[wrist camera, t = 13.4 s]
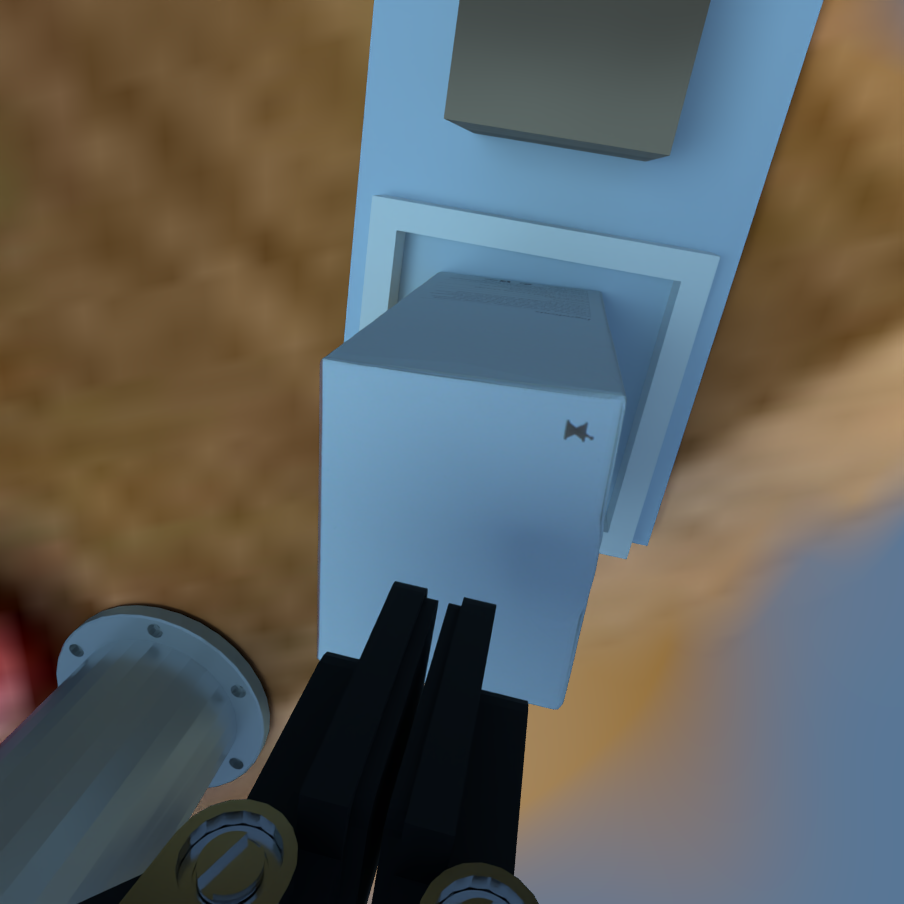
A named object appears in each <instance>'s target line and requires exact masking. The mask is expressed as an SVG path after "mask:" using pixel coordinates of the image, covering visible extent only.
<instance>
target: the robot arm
mask: <svg viewBox="0 0 904 904" xmlns="http://www.w3.org/2000/svg"><path fill="white" fill-rule="evenodd" d="M427 595H428V588H424V587H419V586H415V585H411V584H407V583H402V582H398V581H395V582H394V583H393V585H392V587H391V589H390V592H389V594H388V596H387V598H386V601H385V603H384V605H383V607H382V610H381V612H380V614H379V616H378V619H377V621H376V623H375V625H374V627H373V630H372V632H371V634H370V636H369V639H368V641H367V643H366V645H365V648H364V650H363V652H362V654H361V657H360V659H356V658H352V657H348V656H344V655H340V654H336V653H332V652H328V651H327V652H326V653H325V654H324V655H323V656H322V658H321V660H320V661H319V663H318V665H317V667H316V669H315V671H314V673H313V674H312V676H311V678H310V680H309V682H308V684H307V686H306V688H305V690H304V692H303V693H302V695H301V697H300V699H299V701H298V703H297V705H296V707H295V709H294V711H293V712H292V714H291V716H290V718H289V720H288V722H287V724H286V726H285V728H284V730H283V731H282V733H281V735H280V737H279V739H278V741H277V743H276V745H275V747H274V749H273V750H272V752H271V754H270V756H269V758H268V760H267V762H266V764H265V766H264V768H263V769H262V771H261V773H260V775H259V777H258V779H257V781H256V783H255V785H254V787H253V788H252V790H251V792H250V794H249V796H248V798H247V799H245V800H228V801H225V802H222V803H218V804H215V805H211V806H209V807H208V808H206V809H204V810H202V811H201V812H199V813H197V814H196V815H194V816H192V817H191V815H192V813H193V812H194V810H195V808H196V807H197V805H198V803H199V802H200V800H201V798H202V797H203V795H204V793H205V792H206V790H207V788H210V787H216V786H220V785H223V784H226V783H228V782H231V781H234V780H235V779H237V778H238V777H240V776H241V775H243V774H244V773H246V772H247V770H248V769H249V768H250V767H251V766H252V765H253V764H254V763H255V761H256V759H257V758H258V756H259V754H260V752H261V750H262V749H263V747H264V745H265V742H266V739H267V736H268V733H269V725H270V712H269V707H268V701H267V697H266V695H265V692H264V690H263V687H262V685H261V682H260V681H259V679H258V677H257V676H256V674H255V673H254V671H253V669H252V668H251V666H250V665H249V663H248V662H247V661H246V660H245V659H244V658H243V657H242V656H241V654H240V653H239V652H238V651H237V650H236V649H235V648H234V647H233V646H232V645H231V644H229V643H228V642H227V641H226V640H225V639H224V638H222V637H221V636H220V635H219V634H217V633H216V632H214V631H212V630H211V629H209V628H208V627H206V626H205V625H203V624H201V623H200V622H197V621H195V620H193V619H191V618H189V617H186V616H184V615H182V614H179V613H176V612H172V611H169V610H165V609H162V608H157V607H149V606H141V605H134V606H119V607H115V608H112V609H108V610H104V611H102V612H100V613H98V614H96V615H94V616H92V617H90V618H89V619H88V620H86V621H85V622H84V623H83V624H82V625H81V626H80V627H78V628H77V629H76V630H75V631H74V632H73V633H72V634H71V635H70V636H69V637H68V639H67V640H66V641H65V643H64V644H63V647H62V649H61V652H60V654H59V657H58V663H57V671H56V674H57V682H58V688H57V689H56V690H55V691H54V692H53V693H52V694H51V695H50V696H49V697H48V698H47V699H46V700H44V701H43V702H42V703H41V704H40V705H39V706H38V707H37V708H36V709H35V710H34V711H33V712H32V713H31V714H30V715H29V716H28V717H27V718H26V719H25V720H24V721H23V722H22V723H21V724H20V725H19V726H18V727H17V728H16V729H15V730H14V731H13V732H12V733H11V734H10V735H9V736H8V737H7V738H6V739H5V740H4V741H3V742H2V743H1V744H0V904H367V901H368V898H369V894H370V891H371V887H372V884H373V880H374V877H375V873H376V870H377V874H376V880H375V887H374V893H373V898H372V904H539V903H538V902H537V900H536V898H535V896H534V894H533V893H532V892H531V891H530V890H529V889H528V888H527V887H526V886H525V885H524V884H523V883H522V882H521V880H519V879H518V878H517V877H515V876H514V868H515V856H516V844H517V832H518V821H519V810H520V798H521V787H522V776H523V763H524V752H525V741H526V729H527V718H528V701H527V700H522V699H518V698H514V697H510V696H506V695H502V694H498V693H494V692H490V691H486V690H482V684H483V678H484V673H485V667H486V662H487V656H488V651H489V645H490V640H491V634H492V629H493V623H494V618H495V612H496V606H497V605H496V604H492V603H488V602H484V601H479V600H475V599H471V598H466V597H464V598H463V602H462V605H461V606H460V605H456V604H452V603H449V604H448V607H447V610H446V614H445V617H444V620H443V624H442V627H441V631H440V634H439V637H438V641H437V644H436V647H435V651H434V654H433V658H432V661H431V664H430V668H429V671H428V675H427V678H426V681H425V677H426V671H427V665H428V660H429V654H430V648H431V643H432V637H433V632H434V626H435V620H436V615H437V609H438V602H439V601H438V600H435V599H430V598H427ZM424 682H425V685H424ZM190 817H191V818H190ZM189 818H190V819H189ZM377 866H378V868H377Z"/></svg>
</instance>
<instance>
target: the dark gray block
mask: <svg viewBox="0 0 904 904" xmlns="http://www.w3.org/2000/svg"><path fill="white" fill-rule="evenodd" d="M710 1H711V0H459V7H458V15H457V22H456V30H455V37H454V45H453V52H452V60H451V67H450V75H449V82H448V90H447V97H446V105H445V112H444V119H445V120H448V121H450V122H452V123H454V124H456V125H458V126H460V127H462V128H464V129H466V130H468V131H470V132H472V133H475V134H481V135H487V136H493V137H499V138H505V139H511V140H518V141H524V142H530V143H536V144H542V145H548V146H554V147H560V148H566V149H572V150H578V151H584V152H590V153H597V154H603V155H609V156H615V157H621V158H627V159H633V160H639V161H645V162H646V161H650V160H654V159H658V158H662V157H666V156H670V153H671V149H672V145H673V142H674V138H675V134H676V130H677V126H678V123H679V119H680V115H681V111H682V108H683V104H684V100H685V96H686V92H687V89H688V85H689V81H690V77H691V73H692V70H693V66H694V62H695V58H696V54H697V51H698V47H699V43H700V39H701V36H702V32H703V28H704V24H705V20H706V17H707V13H708V9H709V5H710Z"/></svg>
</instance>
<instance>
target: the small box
mask: <svg viewBox="0 0 904 904" xmlns="http://www.w3.org/2000/svg"><path fill="white" fill-rule="evenodd" d="M626 403H627V398H626V393H625V389H624V385H623V380H622V376H621V372H620V368H619V364H618V359H617V355H616V351H615V347H614V343H613V339H612V335H611V331H610V328H609V324H608V320H607V316H606V312H605V304H604V301H603V295H602V292H600V291H594V290H583V289H576V288H568V287H559V286H551V285H543V284H535V283H527V282H519V281H511V280H503V279H495V278H487V277H480V276H472V275H464V274H455V273H448V272H438V273H437V274H436V275H434V276H433V277H431V278H430V279H429V280H428V281H426V282H425V283H424V284H422V285H421V286H419V287H418V288H416V289H415V290H414V291H412V292H411V293H410V294H408V295H407V296H406V297H404V298H403V299H402V300H400V301H399V302H398V303H397V304H395V305H394V306H392V307H391V308H390V309H388V310H387V311H386V312H385V313H383V314H382V315H381V316H379V317H378V318H377V319H375V320H374V321H373V322H371V323H370V324H369V325H367V326H366V327H364V328H363V329H362V330H360V331H359V332H358V333H356V334H355V335H354V336H353V337H351V338H350V339H349V340H347V341H346V342H344V343H343V344H342V345H341V346H339V347H338V348H337V349H335V350H334V351H332V352H331V353H330V354H328V355H327V356H326V357H324V358H323V359H322V360H321V362H320V414H319V515H318V634H317V649H318V652H317V658H318V659H319V660H321V658H322V656H323V655H324V654H325V653H326V652H327V651H328V652H332V653H336V654H340V655H344V656H348V657H352V658H356V659H360V657H361V654H362V652H363V650H364V648H365V645H366V643H367V641H368V639H369V636H370V634H371V632H372V630H373V627H374V625H375V623H376V621H377V619H378V616H379V614H380V612H381V610H382V607H383V605H384V603H385V601H386V598H387V596H388V594H389V592H390V589H391V587H392V585H393V583H394V582H395V581H398V582H402V583H407V584H411V585H415V586H419V587H424V588H428V595H427V598H430V599H435V600H438V601H439V602H438V609H437V615H436V620H435V626H434V632H433V637H432V643H431V648H430V654H429V660H428V665H427V671H426V677H425V681H426V678H427V675H428V671H429V668H430V664H431V661H432V658H433V654H434V651H435V647H436V644H437V641H438V637H439V634H440V631H441V627H442V624H443V620H444V617H445V614H446V610H447V607H448V604H449V603H452V604H456V605H460V606H461V605H462V602H463V598H464V597H466V598H471V599H475V600H479V601H484V602H488V603H492V604H496V605H497V606H496V612H495V618H494V623H493V629H492V634H491V640H490V645H489V651H488V656H487V662H486V667H485V673H484V678H483V684H482V690H486V691H490V692H494V693H498V694H502V695H506V696H510V697H514V698H518V699H522V700H527V701H528V704H533V705H537V706H541V707H546V708H550V709H559V708H560V707H561V705H562V704H563V702H564V698H565V694H566V690H567V686H568V682H569V678H570V674H571V670H572V666H573V661H574V657H575V653H576V648H577V643H578V639H579V635H580V631H581V627H582V622H583V618H584V614H585V610H586V605H587V601H588V597H589V593H590V589H591V586H592V582H593V579H594V575H595V570H596V566H597V561H598V555H599V550H600V546H601V542H602V538H603V531H604V520H605V514H606V507H607V501H608V496H609V491H610V486H611V481H612V476H613V471H614V466H615V461H616V456H617V451H618V446H619V441H620V436H621V430H622V424H623V419H624V414H625V409H626Z"/></svg>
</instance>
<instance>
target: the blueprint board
mask: <svg viewBox="0 0 904 904" xmlns="http://www.w3.org/2000/svg"><path fill="white" fill-rule="evenodd" d="M822 3H823V0H711V1H710V5H709V9H708V13H707V17H706V20H705V24H704V28H703V32H702V36H701V39H700V43H699V47H698V51H697V54H696V58H695V62H694V66H693V70H692V73H691V77H690V81H689V85H688V89H687V92H686V96H685V100H684V104H683V108H682V111H681V115H680V119H679V123H678V126H677V130H676V134H675V138H674V142H673V145H672V149H671V153H670V156H666V157H662V158H658V159H654V160H650V161H646V162H645V161H639V160H633V159H627V158H621V157H615V156H609V155H603V154H597V153H590V152H584V151H578V150H572V149H566V148H560V147H554V146H548V145H542V144H536V143H530V142H524V141H518V140H511V139H505V138H499V137H493V136H487V135H481V134H475V133H472V132H470V131H468V130H466V129H464V128H462V127H460V126H458V125H456V124H454V123H452V122H450V121H448V120H445V119H444V112H445V105H446V97H447V90H448V82H449V75H450V67H451V60H452V52H453V45H454V37H455V30H456V22H457V15H458V7H459V0H374V10H373V21H372V32H371V43H370V55H369V66H368V77H367V88H366V100H365V111H364V122H363V133H362V145H361V156H360V167H359V178H358V190H357V201H356V212H355V223H354V235H353V246H352V257H351V269H350V280H349V291H348V302H347V314H346V325H345V336H344V342H346V341H347V340H349V339H350V338H351V337H353V336H354V335H355V334H356V333H358V332H359V331H360V330H362V329H363V328H364V327H366V326H367V325H369V324H370V323H371V322H373V321H374V320H375V319H377V318H378V317H379V316H381V315H382V314H383V313H385V312H386V311H387V310H388V309H390V308H391V307H392V306H394V305H395V304H397V303H398V302H399V301H400V300H402V299H403V298H404V297H406V296H407V295H408V294H410V293H411V292H412V291H414V290H415V289H416V288H418V287H419V286H421V285H422V284H424V283H425V282H426V281H428V280H429V279H430V278H431V277H433V276H434V275H436V274H437V273H438V272H448V273H455V274H464V275H472V276H480V277H487V278H495V279H503V280H511V281H519V282H527V283H535V284H543V285H551V286H559V287H568V288H576V289H583V290H594V291H600V292H602V295H603V301H604V304H605V312H606V316H607V320H608V324H609V328H610V331H611V335H612V339H613V343H614V347H615V351H616V355H617V359H618V364H619V368H620V372H621V376H622V380H623V385H624V389H625V393H626V398H627V403H626V409H625V414H624V419H623V424H622V430H621V436H620V441H619V446H618V451H617V456H616V461H615V466H614V471H613V476H612V481H611V486H610V491H609V496H608V501H607V507H606V514H605V520H604V531H603V538H602V542H601V546H600V550H599V553H600V554H605V555H609V556H614V557H618V558H623V559H627V556H628V553H629V550H630V546H631V543H636V544H641V545H646V546H647V545H648V542H649V539H650V536H651V533H652V530H653V527H654V524H655V520H656V517H657V514H658V511H659V508H660V505H661V502H662V499H663V496H664V493H665V489H666V486H667V483H668V480H669V477H670V474H671V471H672V468H673V465H674V462H675V458H676V455H677V452H678V449H679V446H680V443H681V440H682V437H683V434H684V431H685V427H686V424H687V421H688V418H689V415H690V412H691V409H692V406H693V403H694V400H695V396H696V393H697V390H698V387H699V384H700V381H701V378H702V375H703V372H704V369H705V365H706V362H707V359H708V356H709V353H710V350H711V347H712V344H713V341H714V338H715V334H716V331H717V328H718V325H719V322H720V319H721V316H722V313H723V310H724V307H725V303H726V300H727V297H728V294H729V291H730V288H731V285H732V282H733V279H734V276H735V272H736V269H737V266H738V263H739V260H740V257H741V254H742V251H743V248H744V245H745V241H746V238H747V235H748V232H749V229H750V226H751V223H752V220H753V217H754V214H755V210H756V207H757V204H758V201H759V198H760V195H761V192H762V189H763V186H764V182H765V179H766V176H767V173H768V170H769V167H770V164H771V161H772V158H773V155H774V151H775V148H776V145H777V142H778V139H779V136H780V133H781V130H782V127H783V124H784V120H785V117H786V114H787V111H788V108H789V105H790V102H791V99H792V96H793V93H794V89H795V86H796V83H797V80H798V77H799V74H800V71H801V68H802V65H803V62H804V58H805V55H806V52H807V49H808V46H809V43H810V40H811V37H812V34H813V31H814V27H815V24H816V21H817V18H818V15H819V12H820V9H821V6H822Z"/></svg>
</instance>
